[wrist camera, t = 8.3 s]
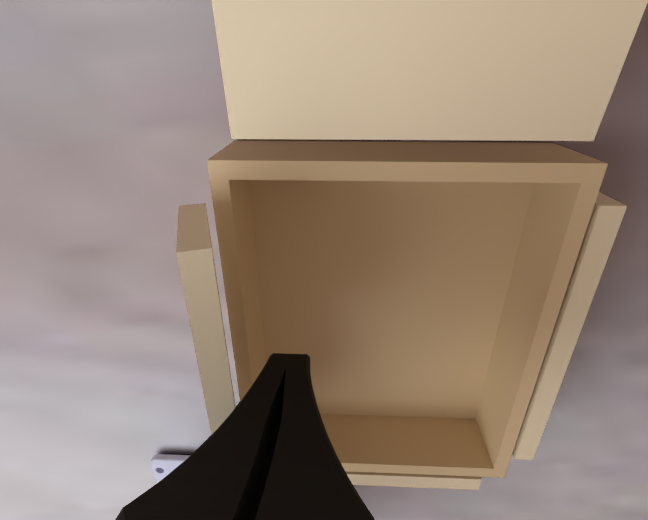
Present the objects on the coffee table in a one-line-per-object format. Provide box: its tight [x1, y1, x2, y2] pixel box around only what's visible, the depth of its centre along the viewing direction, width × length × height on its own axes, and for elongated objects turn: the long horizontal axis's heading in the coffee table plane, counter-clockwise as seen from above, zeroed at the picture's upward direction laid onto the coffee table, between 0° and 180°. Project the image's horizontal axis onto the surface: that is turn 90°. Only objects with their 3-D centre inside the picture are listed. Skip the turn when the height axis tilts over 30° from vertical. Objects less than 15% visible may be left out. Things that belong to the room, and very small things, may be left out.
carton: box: [207, 141, 627, 490], centre depth 17 cm, size 16×13×3 cm
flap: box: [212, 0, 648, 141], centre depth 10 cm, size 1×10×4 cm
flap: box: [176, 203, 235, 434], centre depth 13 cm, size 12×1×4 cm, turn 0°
